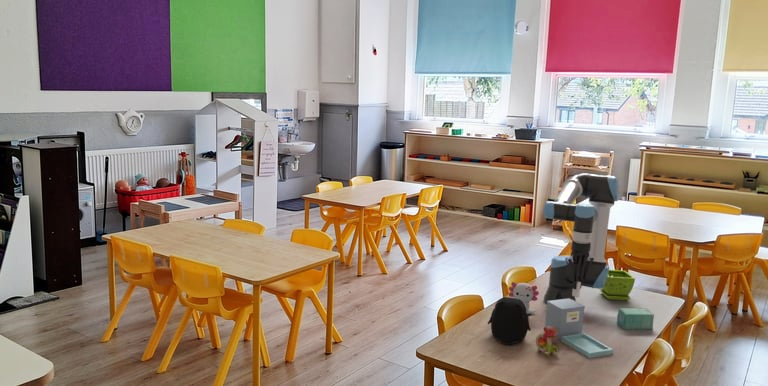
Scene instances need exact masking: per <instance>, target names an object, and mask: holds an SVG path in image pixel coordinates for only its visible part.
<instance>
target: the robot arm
mask: <svg viewBox="0 0 768 386" xmlns="http://www.w3.org/2000/svg"><path fill="white" fill-rule="evenodd" d="M619 189H620V186H619V180H618V177H616V176H615V175H608V174H599V173H598V174H597V173H587V172H582V173H581V172H580V173H577V174H575V175H572V176H570V177H568V178H566V180H564V181H563V183H562V186H561V190H560V192H559V193H558V194H557V196H556V197H555V199H554V200H553V201H550V200H547V201H545V202H544V205H543V212H542V213H543V217H544V218H546V219H551V220H556V221H564V222H573V230H572V236H571V238H572V241H571V247H570V248H571V253H570V255H569V254H568V255H566V254H565V255H556V256H554V257H553V258H551V262H550V266H549V267H550V269H549V279H548V280H549V283H548V287H547V289H546V291H545V294H544V296H543V302H544V303H546V304H547V301H552V300H560V299H568V298H570V299H572V300H574V301H575V302H577V300H576V299H577V298H580V294H581V289H582V287H586V288H591V289H596V290H597V289H598V290H600V289H602V288H603V287H604V285H605V282H606V279H607V276H609V275H608V272H609V270H610V266H609V265H607V264H608V263H607V260H606V259H605V253H606V252H605V251H606V246H607V245H606V243H607V237H608V230H609V229H608V228H609V220H610V214H611V208H612V207H614V206H615V202H618V201H619V198H620V196H619V194H620V193H619V192H620V190H619ZM577 198H588V203H577V204H576V203H575V204H574V202H575V200H576V199H577Z"/></svg>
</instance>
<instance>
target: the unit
mask: <svg viewBox="0 0 768 386" xmlns="http://www.w3.org/2000/svg"><path fill="white" fill-rule="evenodd" d="M545 308H546V309H545V318H544V319H545V321H544V327H547V326H553V327H556V328H558V336H557V339H561V336H568V335H575V334H581V333H583V325H584V315H585V309H586V308H585V305H583V304H581V303H579V302H578V301H576V302H575V301H574V300H572V299H570V298H568V299H560V300H552V301H547V303H546V307H545Z"/></svg>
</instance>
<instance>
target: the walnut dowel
mask: <svg viewBox="0 0 768 386" xmlns="http://www.w3.org/2000/svg"><path fill="white" fill-rule="evenodd" d="M546 328H548V329H551V330H555V331H556V333H555V334H554V338H552V337H551V341H552V346H555V345H557V344H558V337H557V336H558V328H556V327H553V326H547V327H546Z"/></svg>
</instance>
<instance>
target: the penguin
mask: <svg viewBox="0 0 768 386" xmlns="http://www.w3.org/2000/svg"><path fill="white" fill-rule="evenodd" d="M487 324H488V325H489V324H490V327H491V334H492V335H493V337H494V338H495V339H497V340H498V341H499V342H500V343H501V344H502V345H508V346H509V345H511V344H514V343H517V342H520V341H522V340H524V339H526V337H527V333H528V331H529V332H531V330H532V329H531V325H530V319H529V314H527V313H526V307H525V304H524V303H523V302H522V301H521V300H520V299H516V298H514V297H510V296H509V297H507V296H503V297H502V298H499V299H498V300H497V301H496V303H495V305H494V308H493V309H492V311H491V315H490V317H489V319H488V322H487Z"/></svg>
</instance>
